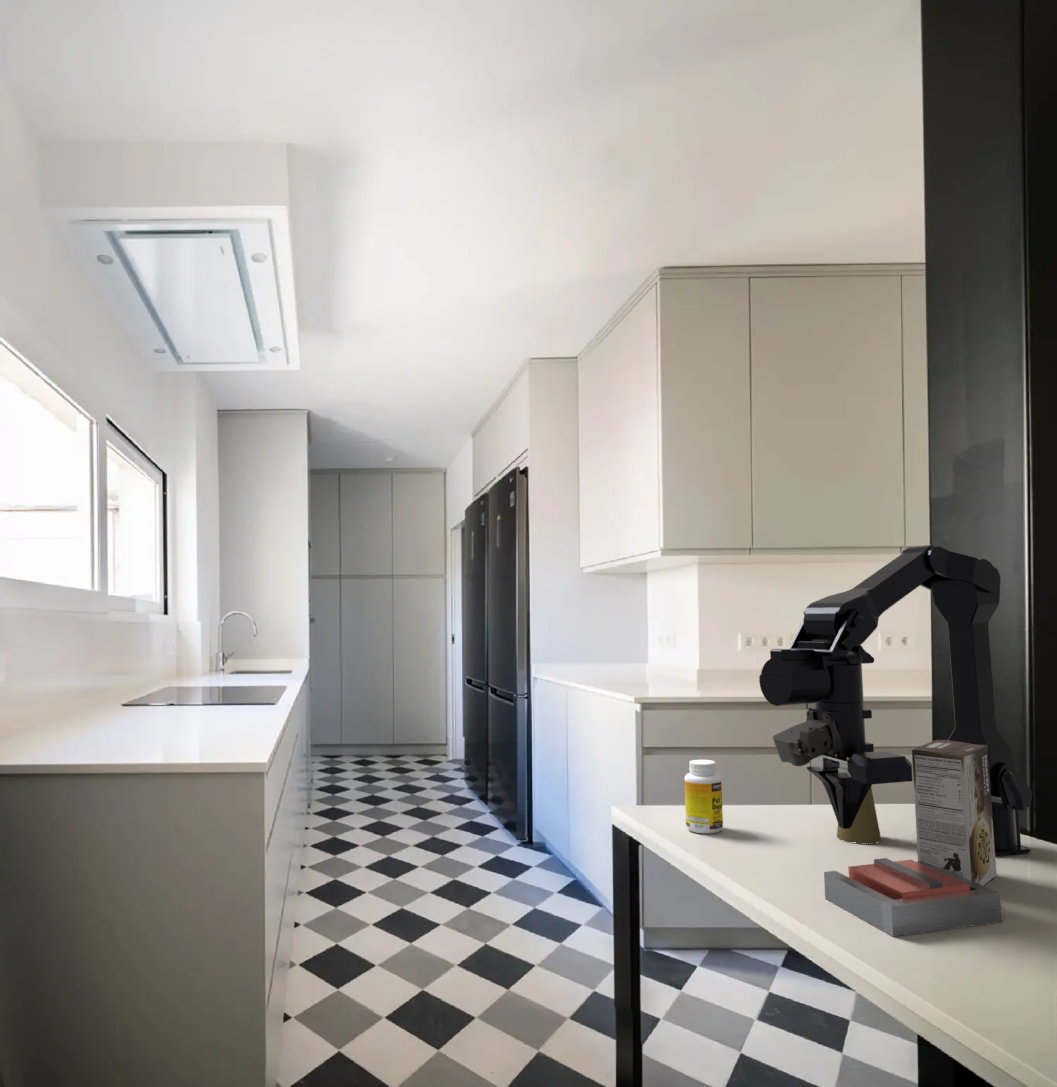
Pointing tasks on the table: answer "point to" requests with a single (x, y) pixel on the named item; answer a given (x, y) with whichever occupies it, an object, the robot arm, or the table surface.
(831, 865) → the table surface
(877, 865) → the block
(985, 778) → the coffee box
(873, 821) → the olive tapered upright piece
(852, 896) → the tray
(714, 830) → the supplement bottle
